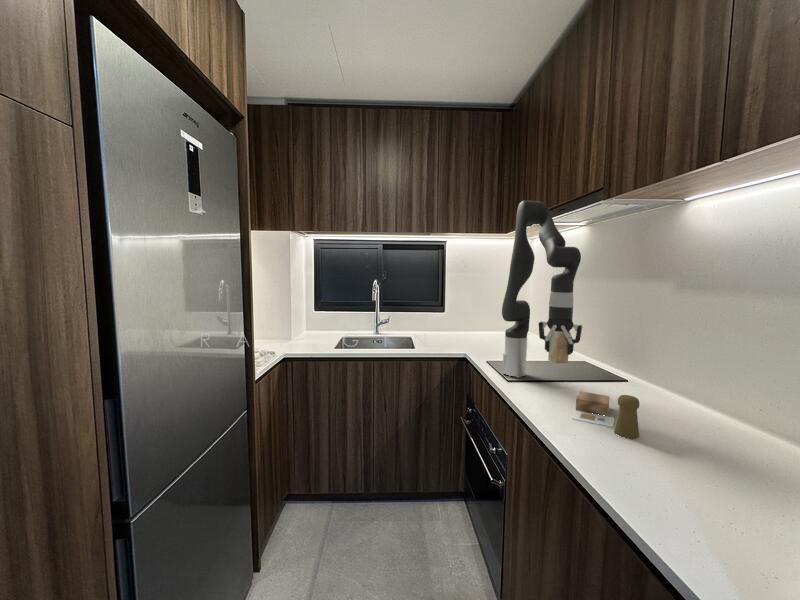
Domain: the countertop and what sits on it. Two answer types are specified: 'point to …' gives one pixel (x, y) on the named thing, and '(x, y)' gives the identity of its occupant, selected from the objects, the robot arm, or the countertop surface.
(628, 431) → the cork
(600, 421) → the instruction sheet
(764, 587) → the countertop surface
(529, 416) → the countertop surface
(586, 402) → the base brick
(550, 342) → the box
